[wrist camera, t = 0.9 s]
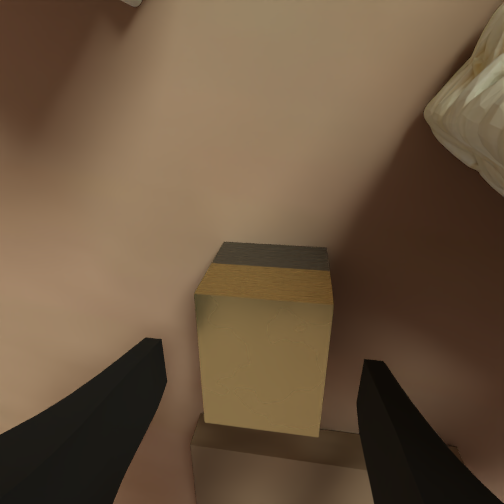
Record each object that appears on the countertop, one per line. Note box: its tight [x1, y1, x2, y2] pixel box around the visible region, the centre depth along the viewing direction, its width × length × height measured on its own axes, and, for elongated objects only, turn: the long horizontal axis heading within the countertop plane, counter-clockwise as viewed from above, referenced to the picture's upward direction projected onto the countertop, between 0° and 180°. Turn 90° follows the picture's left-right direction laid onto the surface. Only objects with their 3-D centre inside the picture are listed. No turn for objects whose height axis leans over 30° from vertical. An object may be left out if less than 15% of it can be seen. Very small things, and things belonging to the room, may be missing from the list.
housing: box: [194, 242, 334, 437], centre depth 14 cm, size 4×6×5 cm
